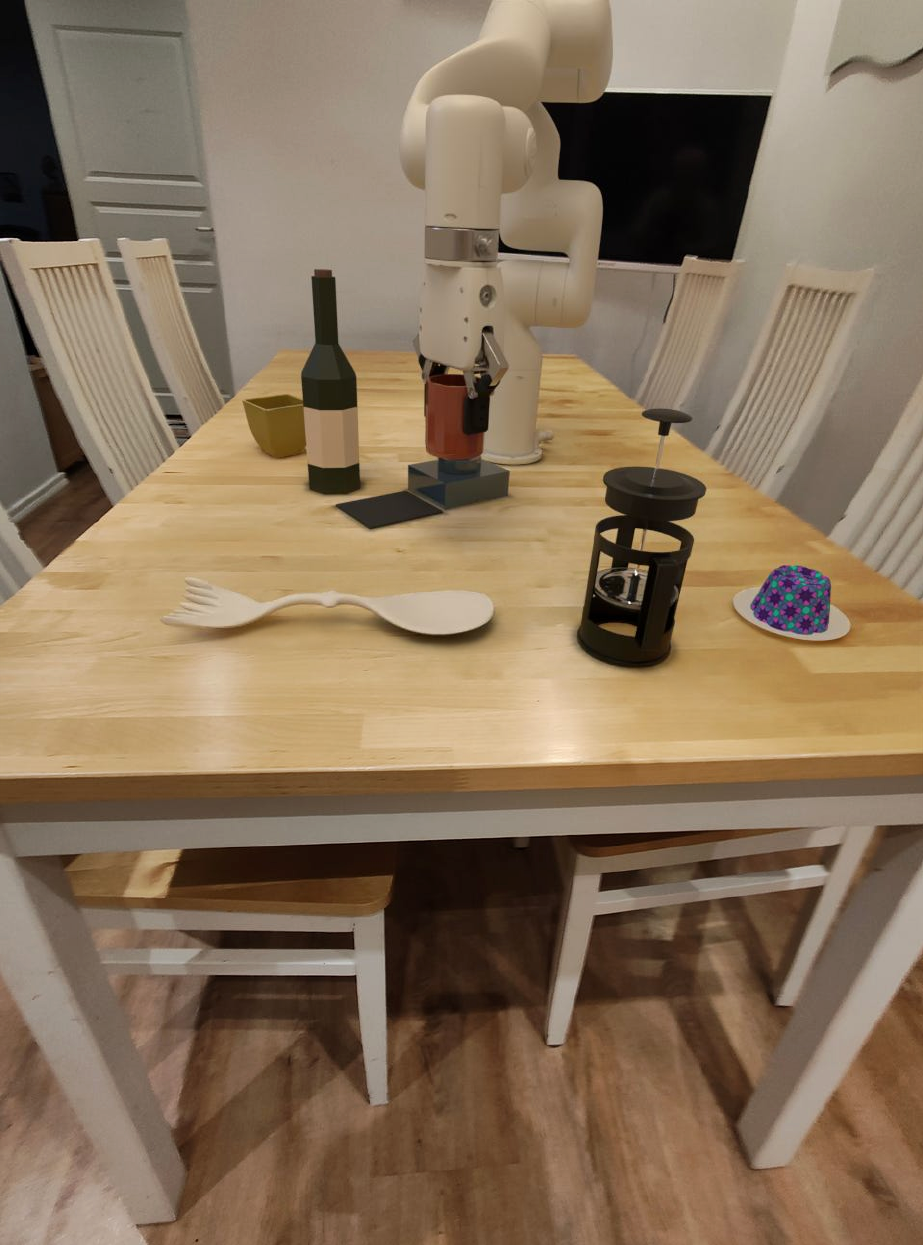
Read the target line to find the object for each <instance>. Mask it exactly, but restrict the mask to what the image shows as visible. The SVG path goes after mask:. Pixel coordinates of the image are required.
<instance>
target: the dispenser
mask: <svg viewBox="0 0 923 1245" xmlns="http://www.w3.org/2000/svg"><path fill="white" fill-rule="evenodd" d="M436 458H437V459H435V460H428V461H423V462H418V463H411V464H408V465H407V491H408V492H410V493H412V494H414V495H417V497H419V498H421V499H423V500H425V501H427V502H429V503H430V504H432V505H434V506H436V507H438V508H440V509H441V510H442V509H443V510H445V511H446V510H450V509H455V508H459V507H464V506H467V505H468V506H469V505H473V504H477V503H482V502H486V501H490V500H496V499H500V498H504V497H508V496H509V485H510V474H511V473H510V472H511V470H508V469H506V468H504V467H502V466H499V465H497V464H495V463H492V462H488V461H485V460H483V459H481V455H480V456H478V457H475V458H470V459H444V458H439V457H436Z"/></svg>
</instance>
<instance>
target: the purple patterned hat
mask: <svg viewBox="0 0 923 1245" xmlns="http://www.w3.org/2000/svg"><path fill="white" fill-rule="evenodd" d="M831 597H832V583H831V580H830V579H829V577H827V575H824V574H823V573H822V572H821V571H818V570H816V569H815V568H814V569H813V568H808V567H806V566H803V565H797V564H796V565H790V564H783V565H781V566H778V567H777V568H774V569H773V570H772V571H771V572H770V573H769V574H768V576H767V578H766V579H765V581H764V582H763V584H762V586H755V587H754V586H753V587H748V588H745V589H742V590H739V591H738V592H736V593H735V595H734V596H733V600H732V604H733V607H734V609H735V610H736V611H737V613H738V614H740V616H742V617H743V618H744V619H745V620H747V621H748V622H750V623H751V624H753V625H755V626H757V627H759V628H761V629H763V630H766V631H768V632H770V633H774V634H777V635H780V636H783V637H788V638H791V639H797V640H805V641H830V640H831V641H832V640H837V639H840V638H842V637H844V636H846V635H847V634H849V632H850V630H851V622H850V619H849V618H848V617H847V615H846V614H845V613H844V612H843V611H842V610H841V609H839V608H838V607H837V606H835V605H833V604H832V603H831V599H832V598H831Z"/></svg>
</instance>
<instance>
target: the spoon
mask: <svg viewBox="0 0 923 1245" xmlns="http://www.w3.org/2000/svg"><path fill="white" fill-rule="evenodd" d="M184 582H185V583H186V584H187V585H188V586H186V587H184V588H183V589H184V590H185V591H186V592H187V593H183V594H182V595H181V596H182V597H183V598H184V599H186V600H188V601H190V602H186V601H184V602H183V601H182V602H179V606H180V607H181V608H183V609H181V608H174V609H173V610H172V612H170V613H167V615H164V616H160V617H159V621H160V623H162V624H163V625H165V626H168V627H173V628H211V629H213V628H214V629H230V628H238V627H242V626H246V625H249V624H251V623H254V622H257V621H259V620H260V619H263V618H265V617H266V616H267V617H268V616H269V615H271V614H273V613H275V612H277V611H280V610H282V609H285V608H288V607H292V606H301V605H313V606H314V605H317V606H322V607H324V608H326V609H327V608H328V609H333V608H335V607H337V606H340V605H341V606H342V605H349V606H355V607H359V608H362V609H365V610H367V611H370V612H372V613H373V614H376V615H377V616H378V617H380V618H382V619H383V620H385V621H387V622H389V623H390V624H392V625H394V626H396V627H397V628H401V629H403V630H405V631H408V632H411V633H415V634H422V635H430V636H450V635H457V634H463V633H466V632H469V631H473V630H476V629H478V628H481V627H483V626H484V625H486V624H488V623H490V621H491V620H492V619H493V617H494V615H495V613H496V606H495V603H494V600H493V599H492V598H491V597H490V596H488V595H487V594H485V593H482V592H478V591H471V590H457V589H451V590H450V589H449V590H433V591H431V590H430V591H419V592H418V591H416V592H408V593H403V594H402V593H401V594H395V595H387V596H386V595H385V596H378V597H377V596H376V597H372V596H365V595H364V596H363V595H357V594H351V593H350V594H349V593H341V592H338V591H337V590H334V589H333V590H332V589H331V590H327V591H323V592H303V593H292V594H288V595H285V596H281V597H279V598H276V599H273V600H270V601H265V602H261V601H258V600H255V599H253V598H251V597H249V596H247V595H245V594H243V593H240V592H237V591H233V590H229V589H226V588H223V587H221V586H218V585H216V584H213V583H211V582H209V581H206V580H203V579H201V578H198V577H193V576H189V577H186V578H185V579H184Z"/></svg>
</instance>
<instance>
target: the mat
mask: <svg viewBox="0 0 923 1245" xmlns="http://www.w3.org/2000/svg"><path fill="white" fill-rule="evenodd" d="M335 507H336V508H337V509H338V510H340V511H342V512H343V513H344V514H346V515H348V516H349V517H351V518H352V519H353V520H355V521H356V522H357V523H360V524H361V525H362V526H364V527H365V528H367V529H368V530H374V529H378V528H379V529H380V528H383V527H388V526H392V525H396V524H402V523H406V522H409V521H414V520H419V519H424V518H428V517H432V516H437V515H441V514H443V513H444V511H443V510H442V509H441V508H439V507H438V506H436V505H434V504H432V503H430V502H429V501H427V500H425V499H423V498H421V497H419V496H418V495H417V496H416V494H414V493H412V492H410V491H408V490H402V491H397V492H391V493H386V494H382V495H376V496H371V497H365V498H361V499H356V500H351V501H345V502H340V503H336V504H335Z"/></svg>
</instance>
